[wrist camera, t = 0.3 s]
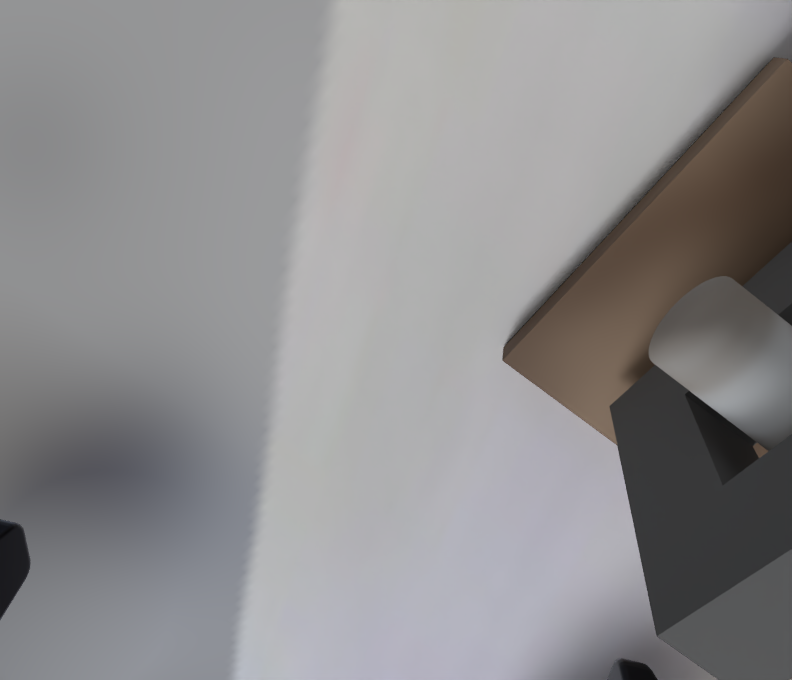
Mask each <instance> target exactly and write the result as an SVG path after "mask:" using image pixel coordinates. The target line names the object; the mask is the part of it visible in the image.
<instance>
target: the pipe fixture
mask: <svg viewBox="0 0 792 680" xmlns="http://www.w3.org/2000/svg"><path fill="white" fill-rule="evenodd" d="M791 242H792V62H790V61H789V60H788V59H784V58H773V59H772V60H771V61H770V62H769V63H768V64H767V65H766V66H765V67H764V69H763V70H762V71H761V72H760V73H759V74H758V75H757V76H756V77H755V78H754V79H753V80H752V81H751V82H750V84H749V85H748V86H747V87H746V88H745V89H744V90H743V91H742V92H741V93H740V94H739V95H738V96H737V98H736V99H735V100H734V101H733V102H732V103H731V104H730V105H729V106H728V107H727V108H726V109H725V110H724V111H723V113H722V114H721V115H720V116H719V117H718V118H717V119H716V120H715V121H714V122H713V123H712V124H711V125H710V126H709V128H708V129H707V130H706V131H705V132H704V133H703V134H702V135H701V136H700V137H699V138H698V139H697V140H696V141H695V143H694V144H693V145H692V146H691V147H690V148H689V149H688V150H687V151H686V152H685V153H684V154H683V155H682V156H681V158H680V159H679V160H678V161H677V162H676V163H675V164H674V165H673V166H672V167H671V168H670V169H669V170H668V171H667V173H666V174H665V175H664V176H663V177H662V178H661V179H660V180H659V181H658V182H657V183H656V184H655V185H654V187H653V188H652V189H651V190H650V191H649V192H648V193H647V194H646V195H645V196H644V197H643V198H642V199H641V200H640V202H639V203H638V204H637V205H636V206H635V207H634V208H633V209H632V210H631V211H630V212H629V213H628V214H627V215H626V217H625V218H624V219H623V220H622V221H621V222H620V223H619V224H618V225H617V226H616V227H615V228H614V229H613V230H612V232H611V233H610V234H609V235H608V236H607V237H606V238H605V239H604V240H603V241H602V242H601V243H600V244H599V245H598V247H597V248H596V249H595V250H594V251H593V252H592V253H591V254H590V255H589V256H588V257H587V258H586V259H585V260H584V262H583V263H582V264H581V265H580V266H579V267H578V268H577V269H576V270H575V271H574V272H573V273H572V274H571V275H570V277H569V278H568V279H567V280H566V281H565V282H564V283H563V284H562V285H561V286H560V287H559V288H558V289H557V291H556V292H555V293H554V294H553V295H552V296H551V297H550V298H549V299H548V300H547V301H546V302H545V303H544V304H543V306H542V307H541V308H540V309H539V310H538V311H537V312H536V313H535V314H534V315H533V316H532V317H531V318H530V319H529V321H528V322H527V323H526V324H525V325H524V326H523V327H522V328H521V329H520V330H519V331H518V332H517V333H516V334H515V336H514V337H513V338H512V339H511V340H510V341H509V342H508V343H507V344H506V345H505V346H504V349H503V361H504V362H505V363H506V364H508V365H509V366H511V367H512V368H513V369H515V370H516V371H517V372H519V373H520V374H521V375H523V376H524V377H525V378H527V379H528V380H530V381H531V382H532V383H534V384H535V385H536V386H538V387H539V388H540V389H542V390H543V391H544V392H546V393H547V394H548V395H550V396H551V397H553V398H554V399H555V400H557V401H558V402H559V403H561V404H562V405H563V406H565V407H566V408H567V409H569V410H570V411H571V412H573V413H574V414H576V415H577V416H578V417H580V418H581V419H582V420H584V421H585V422H586V423H588V424H589V425H590V426H592V427H593V428H594V429H596V430H597V431H599V432H600V433H601V434H603V435H604V436H605V437H607V438H608V439H609V440H611V441H612V442H613V443H615V444H616V445H617V441H616V436H615V431H614V426H613V421H612V416H611V412H610V407H609V406H610V405H611V404H612V403H613V402H615V401H616V400H617V399H618V398H619V397H620V396H621V395H622V394H623V393H625V392H626V391H627V390H628V389H629V388H630V387H631V386H632V385H633V384H634V383H636V382H637V381H638V380H639V379H640V378H641V377H642V376H643V375H644V374H646V373H647V372H648V371H649V370H650V369H651V368H652V367H653V366H654V365H656V366H658V367H659V368H660V369H662V370H663V371H664V372H665V373H667V374H668V375H669V376H671V377H672V378H673V379H675V380H676V381H677V382H679V383H680V384H681V385H683V386H684V387H685V388H686V389H688V390H689V391H690V392H692V393H693V394H694V395H696V396H697V397H698V398H700V399H701V400H702V401H703V402H705V403H706V404H707V405H709V406H710V407H711V408H713V409H714V410H715V411H717V412H718V413H719V414H720V415H722V416H723V417H724V418H726V419H727V420H728V421H730V422H731V423H732V424H734V425H735V426H736V427H738V428H739V429H740V430H741V431H743V432H744V433H745V434H747V435H748V436H749V437H751V438H752V439H753V440H755V441H756V442H757V443H756V444H755V445H754V446H753V448H754V450H755V452H756V453H757V455H758V457H759V458H760V457H762V456H763V455H764V454H766V453H767V452H768V451H770V450H771V449H772V448H774V447H775V446H776V445H778V444H779V443H780V442H782V441H783V440H785V439H786V438H787V437H789V436H790V435H791V434H792V326H791V325H790V324H789V323H788V322H786V321H785V320H784V319H783V318H781V317H780V316H779V315H777V314H776V313H775V312H774V311H772V310H771V309H770V308H769V307H767V306H766V305H765V304H764V303H762V302H761V301H760V300H759V299H757V298H756V297H755V296H754V295H752V294H751V293H750V292H749V291H747V290H746V289H745V288H744V287H742V286H743V285H744V284H745V283H746V282H747V281H749V280H750V279H751V278H752V277H753V276H754V275H755V274H756V273H757V272H759V271H760V270H761V269H762V268H763V267H764V266H765V265H766V264H767V263H769V262H770V261H771V260H772V259H773V258H774V257H775V256H776V255H777V254H779V253H780V252H781V251H782V250H783V249H784V248H785V247H786V246H787V245H788V244H790V243H791Z"/></svg>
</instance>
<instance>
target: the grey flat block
mask: <svg viewBox="0 0 792 680" xmlns="http://www.w3.org/2000/svg"><path fill="white" fill-rule="evenodd" d="M742 287H744V288H745V289H746V290H747V291H749V292H750V293H751V294H752V295H754V296H755V297H756V298H757V299H759V300H760V301H761V302H762V303H764V304H765V305H766V306H767V307H769V308H770V309H771V310H772V311H774V312H775V313H776V314H777V315H779V316H780V317H781V318H783V319H784V320H785V321H786V322H788V323H789V324H790V325H791V326H792V242H791V243H790V244H788V245H787V246H786V247H785V248H784V249H783V250H782V251H781V252H780V253H779V254H777V255H776V256H775V257H774V258H773V259H772V260H771V261H770V262H769V263H767V264H766V265H765V266H764V267H763V268H762V269H761V270H760V271H759V272H757V273H756V274H755V275H754V276H753V277H752V278H751V279H750V280H749V281H747V282H746V283H745V284H744V285H743V286H742ZM609 407H610V412H611V416H612V421H613V426H614V431H615V436H616V441H617V446H618V450H619V455H620V460H621V465H622V470H623V475H624V480H625V484H626V489H627V494H628V499H629V504H630V509H631V514H632V518H633V523H634V528H635V533H636V538H637V543H638V547H639V552H640V557H641V562H642V567H643V572H644V577H645V581H646V586H647V591H648V596H649V601H650V606H651V611H652V615H653V620H654V625H655V630H656V635H657V637H659V638H660V639H661V640H663V641H664V642H666V643H667V644H669V645H670V646H671V647H673V648H674V649H676V650H677V651H679V652H680V653H681V654H683V655H684V656H686V657H687V658H689V659H690V660H691V661H693V662H694V663H696V664H697V665H698V666H700V667H701V668H703V669H704V670H706V671H707V672H708V673H710V674H711V675H713V676H714V677H716V678H717V679H718V680H789V679H791V678H792V434H791V435H790V436H789V437H787V438H786V439H785V440H783V441H782V442H780V443H779V444H778V445H776V446H775V447H774V448H772V449H771V450H770V451H768V452H767V453H766V454H764V455H763V456H762V457H760V458H759V457H758V455H757V453H756V452H755V450H754V448H753V446H754V445H755V444H756V443H757V442H756V441H755V440H753V439H752V438H751V437H749V436H748V435H747V434H745V433H744V432H743V431H741V430H740V429H739V428H738V427H736V426H735V425H734V424H732V423H731V422H730V421H728V420H727V419H726V418H724V417H723V416H722V415H720V414H719V413H718V412H717V411H715V410H714V409H713V408H711V407H710V406H709V405H707V404H706V403H705V402H703V401H702V400H701V399H700V398H698V397H697V396H696V395H694V394H693V393H692V392H690V391H689V390H688V389H686V388H685V387H684V386H683V385H681V384H680V383H679V382H677V381H676V380H675V379H673V378H672V377H671V376H669V375H668V374H667V373H665V372H664V371H663V370H662V369H660V368H659V367H658V366H656V365H654V366H653V367H652V368H651V369H650V370H649V371H648V372H647V373H646V374H644V375H643V376H642V377H641V378H640V379H639V380H638V381H637V382H636V383H634V384H633V385H632V386H631V387H630V388H629V389H628V390H627V391H626V392H625V393H623V394H622V395H621V396H620V397H619V398H618V399H617V400H616V401H615V402H613V403H612V404H611V405H610V406H609Z"/></svg>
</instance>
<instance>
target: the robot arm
mask: <svg viewBox="0 0 792 680" xmlns="http://www.w3.org/2000/svg"><path fill="white" fill-rule="evenodd" d="M29 569H30V556H29V552H28V547H27V542H26V537H25V533H24V529H23V527H22V526H21V525H20V524H18V523H15V522H10V521H6V520H1V519H0V620H1V618H2V616H3V615H4V613H5V612H6V610H7V608H8V607H9V605H10V603H11V601H12V600H13V599H14V597H15V595H16V594H17V592H18V591H19V589H20V587H21V586H22V584H23V582H24V581H25V579H26V577H27V575H28V573H29ZM608 680H657V678H656V676H655V675H654V673H653V672H652V670H651V669H650V668H649V667H648V666H647V665H646V664H643V663H640V662H635V661H631V660H626V659H617V660H616V661H615V663H614V665H613V667H612V669H611V672H610V675H609V677H608Z"/></svg>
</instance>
